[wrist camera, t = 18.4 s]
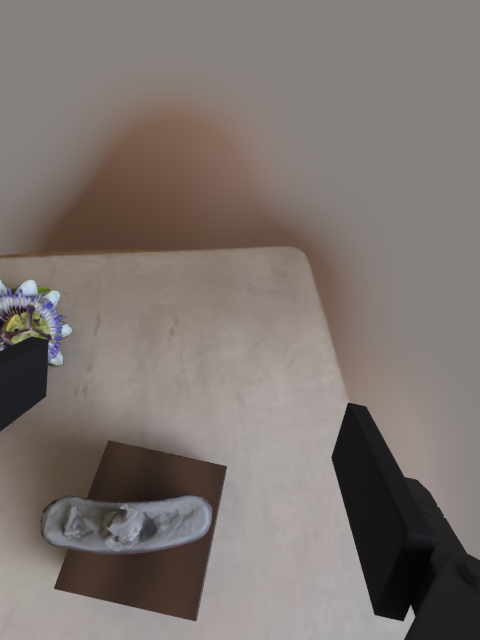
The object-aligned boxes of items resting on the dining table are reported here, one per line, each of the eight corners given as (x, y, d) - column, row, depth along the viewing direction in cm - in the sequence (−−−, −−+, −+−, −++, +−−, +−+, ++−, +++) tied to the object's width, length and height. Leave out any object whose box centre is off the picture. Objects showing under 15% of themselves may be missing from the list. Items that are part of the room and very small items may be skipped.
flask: (210, 500, 28) (213, 490, 18) (210, 544, 26) (212, 558, 17) (88, 503, 27) (26, 494, 18) (80, 549, 25) (8, 565, 16)
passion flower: (72, 378, 43) (35, 415, 31) (-29, 363, 41) (-109, 397, 29) (88, 286, 42) (56, 289, 31) (-14, 266, 40) (-90, 261, 28)
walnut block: (223, 474, 34) (227, 466, 29) (197, 604, 29) (196, 621, 24) (122, 452, 34) (108, 440, 29) (79, 577, 29) (53, 588, 24)
